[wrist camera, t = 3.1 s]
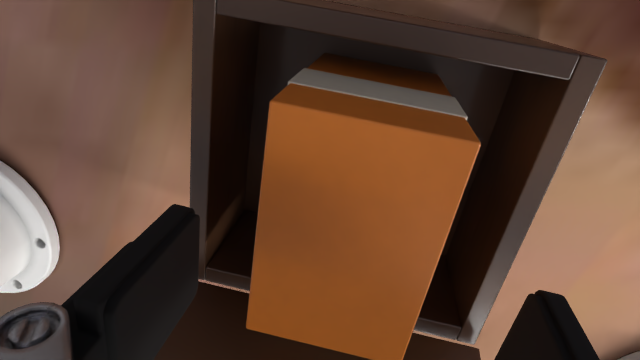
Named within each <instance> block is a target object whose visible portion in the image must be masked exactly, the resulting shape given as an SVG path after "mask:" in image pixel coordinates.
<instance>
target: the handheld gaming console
mask: <svg viewBox="0 0 640 360" xmlns="http://www.w3.org/2000/svg"><path fill="white" fill-rule="evenodd" d="M617 360H640V351H638V352H635V353H632V354H629V355H626V356H624V357H622V358H620V359H617Z"/></svg>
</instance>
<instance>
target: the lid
mask: <svg viewBox="0 0 640 360" xmlns="http://www.w3.org/2000/svg"><path fill="white" fill-rule="evenodd" d="M248 302H249V294H248V293H244V292H240V291H236V290H232V289H227V288H223V287H219V286H215V285H211V284H206V283H202V282H198V289H197V293H196V295H195V297H194V299H193V301H192V302H191V304H190V305H189V307H188V308H187V310H186V311H185V313H184V314H183V316H182V317H181V319H180V320H179V322H178V323H177V325H176V326H175V328H174V329H173V331H172V332H171V334H170V335H169V337H168V338H167V340H166V341H165V343H164V344H163V346H162V347H161V349H160V351H159V352H158V354H157V355H156V357H155V358H154V360H372V359H368V358H364V357H360V356H356V355H351V354H347V353H343V352H339V351H335V350H331V349H327V348H323V347H319V346H315V345H311V344H307V343H303V342H299V341H295V340H291V339H286V338H282V337H278V336H274V335H270V334H266V333H262V332H258V331H254V330H250V329H247V328H246V321H247V312H248ZM403 360H481V358H480V352H479V349H478V348H474V347H469V346H465V345H461V344H457V343H453V342H449V341H444V340H440V339H436V338H432V337H428V336H424V335H419V334H415V333H412V335H411V338H410V341H409V344H408V346H407V349H406V352H405V355H404V357H403Z"/></svg>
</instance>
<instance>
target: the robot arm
mask: <svg viewBox="0 0 640 360" xmlns="http://www.w3.org/2000/svg"><path fill="white" fill-rule="evenodd" d="M199 236H200V217H199V215H197V214H195V211H194V209H193V208H189V207H185V206H180V205H176V204H173V205H172V206H170V207H169V208H168V209H167V210H166V211H165V212H164V213H163V214H162V215H161V216H160V217H159V218H158V219H157V220H156V221H155V222H153V223H152V224H151V225H150V226H149V227H148V228H147V229H146V230H145V231H144V232H143V233H142V234H141V235H140V236H139V237H138V238H137V239H136V240H134V241H133V242H130V243H128V244H127V245H126V246H124V247H123V248H122V249H121V250H120V251H119V252H118V253H117V254H116V255H115V256H114V257H113V258H112V259H110V260H109V261H108V262H107V263H106V264H105V265H104V266H103V267H102V268H101V269H100V270H99V271H98V272H97V273H95V274H94V275H93V276H92V277H91V278H90V279H89V280H88V281H87V282H86V283H85V284H84V285H83V286H82V287H80V288H79V289H78V290H77V291H76V292H75V293H74V294H73V295H72V296H71V297H70V298H69V299H68V300H67V301H65V302H64V303H63V304H62V305H58V304H55V303H49V302H39V303H31V304H27V305H24V306H21V307H18V308H16V309H14V310H12V311H10V312H8V313H6V314H4V315H3V316H2V317H0V360H154V358H155V357H156V355H157V354H158V352H159V351H160V349H161V347H162V346H163V344H164V343H165V341H166V340H167V338H168V337H169V335H170V334H171V332H172V331H173V329H174V328H175V326H176V325H177V323H178V322H179V320H180V319H181V317H182V316H183V314H184V313H185V311H186V310H187V308H188V307H189V305H190V304H191V302H192V301H193V299H194V297H195V295H196V293H197V289H198V273H199ZM59 251H60V245H59V236H58V232H57V229H56V226H55V223H54V220H53V218H52V216H51V214H50V212H49V210H48V208H47V206H46V205H45V203H44V202H43V201H42V199H41V198H40V196H39V195H38V193H37V192H36V191H35V190H34V189H33V188H32V187H31V186H30V185H29V183H28V182H27V181H26V180H25V179H24V178H22V177H21V176H20V175H19V174H18V173H17V172H16V171H14V170H13V169H12V168H11V167H9V166H8V165H6V164H5V163H3V162H2V161H0V292H2V293H17V292H22V291H27V290H29V289H31V288H34V287H36V286H37V285H38V284H40V283H41V282H42V281H43V280H45V279H46V278H47V277H48V276H49V275H50V274H51V273H52V271H53V270H54V269H55V266H56V264H57V262H58V259H59ZM495 360H600V359H599V358H598V356H597V354H596V352H595V350H594V349H593V347H592V345H591V343H590V342H589V340H588V338H587V336H586V334H585V333H584V331H583V329H582V327H581V325H580V324H579V322H578V320H577V318H576V316H575V315H574V313H573V311H572V309H571V307H570V306H569V304H568V302H567V300H566V299H565V297H564V296H562V295H559V294H555V293H551V292H547V291H542V290H538V291H537V292H535V294H529V295H528V296H527V298H526V300H525V302H524V304H523V306H522V308H521V310H520V311H519V313H518V315H517V317H516V319H515V321H514V323H513V325H512V327H511V329H510V331H509V333H508V335H507V336H506V338H505V340H504V342H503V344H502V346H501V348H500V350H499V352H498V354H497V356H496V358H495Z"/></svg>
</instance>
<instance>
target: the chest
mask: <svg viewBox="0 0 640 360" xmlns="http://www.w3.org/2000/svg"><path fill="white" fill-rule="evenodd" d="M324 53H328V54H334V55H339V56H344V57H349V58H354V59H360V60H365V61H370V62H375V63H380V64H386V65H391V66H396V67H401V68H407V69H412V70H417V71H422V72H427V73H433V74H437V75H439V77H440V79H441V80H442V82H443V83H444V85H445V87H446V88H447V90H448V91H449V93H450V95H451V96H452V97H455V98H456V100H457V101H458V103H459V104H460V106H461V107H462V109H463V110H464V112H465V114H466V115H467V117H468V118H467V122H468V123H469V125H470V127H471V128H472V130H473V131H474V133H475V135H476V136H477V138H478V140H479V141H480V143H481V146H480V149H479V152H478V154H477V157H476V160H475V163H474V165H473V168H472V171H471V174H470V176H469V179H468V182H467V185H466V187H465V190H464V193H463V196H462V198H461V201H460V204H459V207H458V209H457V212H456V215H455V218H454V220H453V223H452V226H451V228H450V231H449V234H448V237H447V239H446V242H445V245H444V248H443V250H442V253H441V256H440V259H439V261H438V264H437V267H436V270H435V272H434V275H433V278H432V281H431V283H430V286H429V289H428V292H427V294H426V297H425V300H424V303H423V305H422V308H421V311H420V313H419V316H418V319H417V322H416V324H415V327H414V330H415V331H419V332H424V333H428V334H432V335H436V336H440V337H444V338H449V339H453V340H456V339H457V341H460V342H465V343H469V344H473V345H474V344H475V342H476V340H477V338H478V336H479V334H480V331H481V329H482V327H483V325H484V323H485V321H486V319H487V317H488V314H489V312H490V310H491V308H492V306H493V304H494V302H495V299H496V297H497V295H498V293H499V291H500V289H501V287H502V285H503V282H504V280H505V278H506V276H507V274H508V272H509V270H510V268H511V265H512V263H513V261H514V259H515V257H516V255H517V253H518V250H519V248H520V246H521V244H522V242H523V240H524V238H525V236H526V233H527V231H528V229H529V227H530V225H531V223H532V221H533V219H534V216H535V214H536V212H537V210H538V208H539V206H540V204H541V201H542V199H543V197H544V195H545V193H546V191H547V189H548V187H549V184H550V182H551V180H552V178H553V176H554V174H555V172H556V170H557V167H558V165H559V163H560V161H561V159H562V157H563V155H564V152H565V150H566V148H567V146H568V144H569V142H570V140H571V138H572V135H573V133H574V131H575V129H576V127H577V125H578V123H579V121H580V118H581V116H582V114H583V112H584V110H585V108H586V106H587V103H588V101H589V99H590V97H591V95H592V93H593V91H594V89H595V86H596V84H597V82H598V80H599V78H600V76H601V74H602V72H603V69H604V67H605V65H606V63H607V60H606V59H604V58H600V57H597V56H593V55H590V54H587V53H583V52H580V51H576V50H573V49H570V48H566V47H563V46H559V45H556V44H552V43H549V42H546V41H542V40H539V39H533V38H528V37H522V36H517V35H511V34H506V33H500V32H495V31H489V30H484V29H478V28H473V27H467V26H462V25H456V24H451V23H445V22H440V21H434V20H429V19H423V18H418V17H412V16H407V15H401V14H396V13H390V12H385V11H379V10H374V9H368V8H363V7H358V6H352V5H347V4H341V3H336V2H330V1H325V0H193V48H192V109H191V170H190V208H193V209H194V211H195V214H197V215H199V217H200V236H199V273H198V279H201V280H206V281H210V282H214V283H219V284H223V285H227V286H231V287H235V288H239V289H244V290H248V291H250V283H251V274H252V264H253V255H254V245H255V236H256V226H257V217H258V207H259V198H260V188H261V179H262V170H263V160H264V151H265V141H266V132H267V122H268V113H269V103H270V101H271V100H272V99H273V98H274V97H275V96H276V95H277V94H279V93H280V92H281V91H282V90H283V89H284V88H285V87H286V86H288V81H289V80H291V79H292V78H293V77H294V76H295V75H296V74H298V73H299V72H300V71H301V70H302V69H303V68H308V67H309V66H310V65H311V64H312V63H313V62H315V61H316V60H317V59H318V58H319V57H320V56H321V55H322V54H324Z"/></svg>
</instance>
